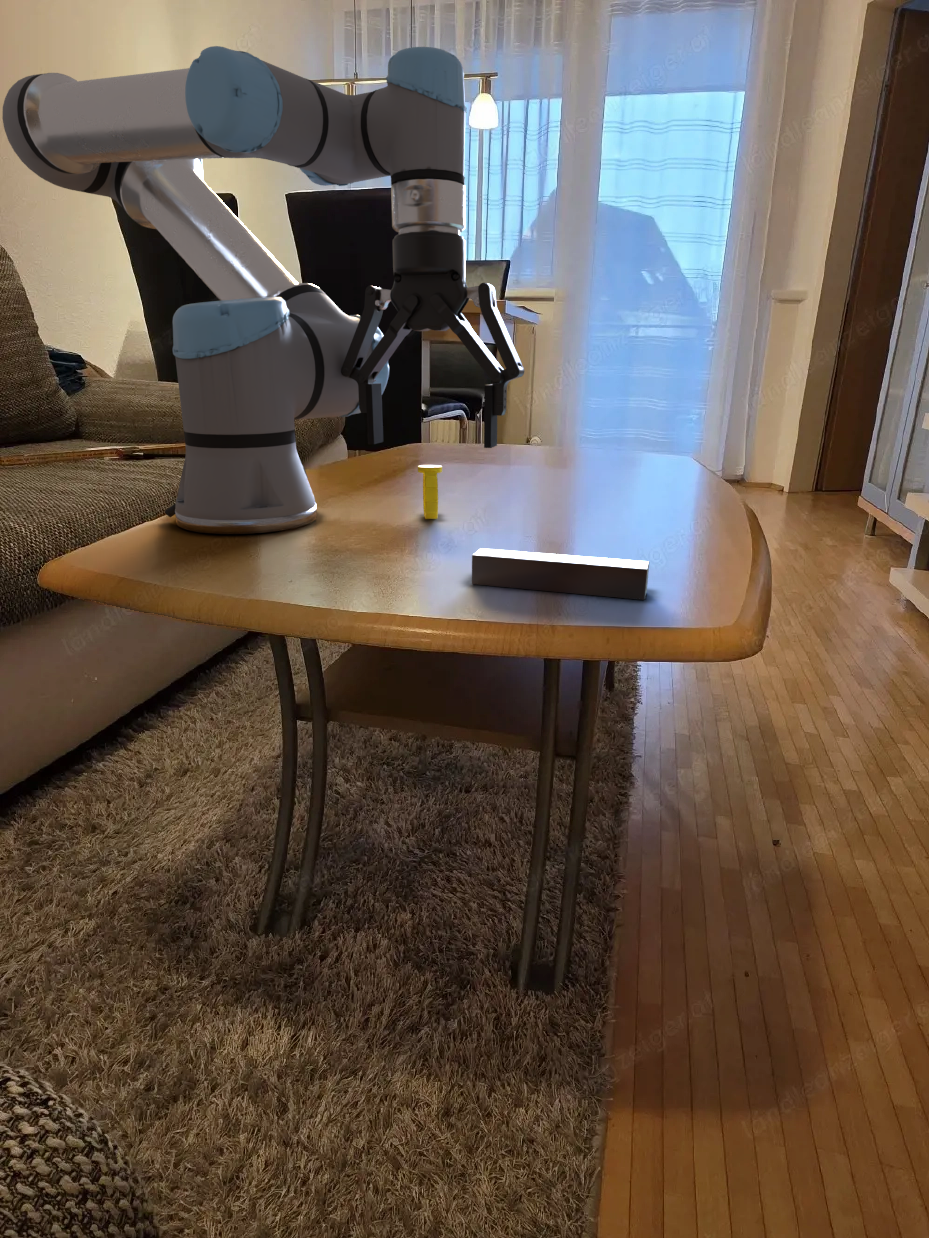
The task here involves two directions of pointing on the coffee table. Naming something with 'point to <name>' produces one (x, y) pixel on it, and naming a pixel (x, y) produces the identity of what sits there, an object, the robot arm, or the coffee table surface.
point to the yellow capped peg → (430, 489)
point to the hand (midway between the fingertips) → (431, 445)
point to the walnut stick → (561, 573)
